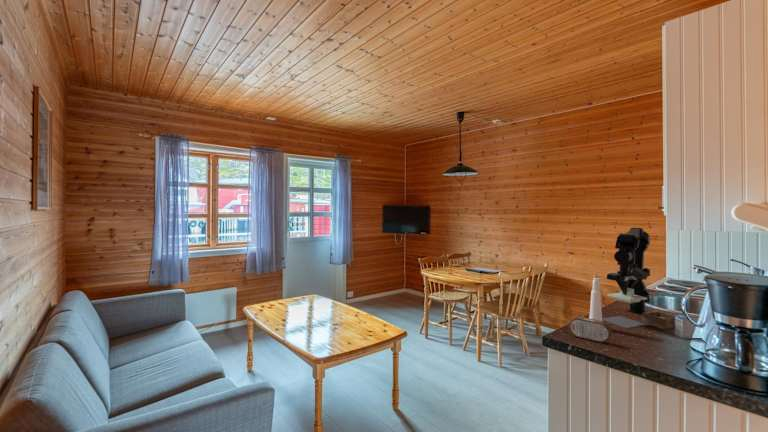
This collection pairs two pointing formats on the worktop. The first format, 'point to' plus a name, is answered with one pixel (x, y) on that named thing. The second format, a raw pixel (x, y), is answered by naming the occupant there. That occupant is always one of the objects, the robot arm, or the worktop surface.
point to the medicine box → (684, 326)
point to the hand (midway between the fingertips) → (626, 294)
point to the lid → (627, 296)
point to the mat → (623, 322)
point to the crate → (659, 319)
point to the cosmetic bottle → (595, 301)
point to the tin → (590, 329)
